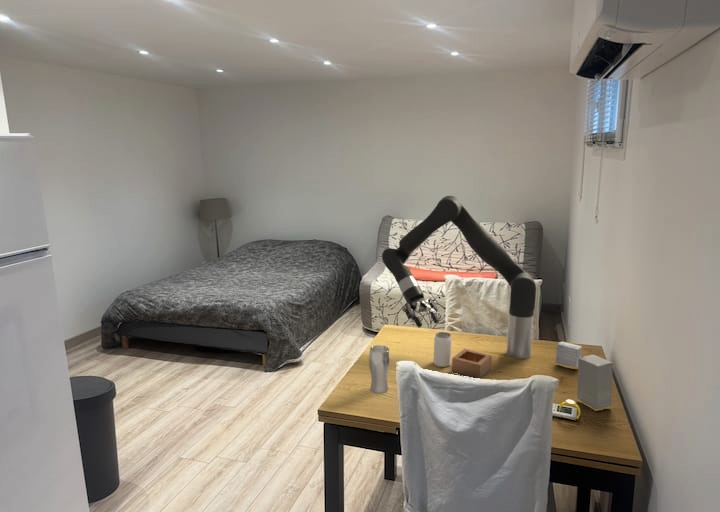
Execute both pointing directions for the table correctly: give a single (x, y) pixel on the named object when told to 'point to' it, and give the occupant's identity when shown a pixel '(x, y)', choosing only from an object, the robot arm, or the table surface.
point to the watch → (571, 403)
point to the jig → (471, 363)
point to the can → (442, 349)
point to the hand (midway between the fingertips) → (428, 324)
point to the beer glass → (379, 368)
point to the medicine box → (568, 354)
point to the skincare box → (595, 381)
